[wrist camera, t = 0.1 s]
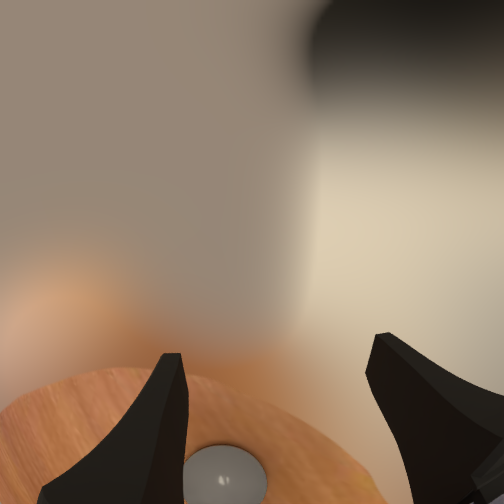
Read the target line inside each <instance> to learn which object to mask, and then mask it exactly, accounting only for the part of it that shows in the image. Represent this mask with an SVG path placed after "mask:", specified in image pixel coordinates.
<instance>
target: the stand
mask: <svg viewBox="0 0 504 504" xmlns="http://www.w3.org/2000/svg"><path fill="white" fill-rule="evenodd" d="M266 490H267V478H266V475H265V472H264V470H263V468H262V466H261V464H260V463H259V461H258V460H257V459H256V458H255V457H254V456H253V455H252V454H250V453H249V452H247V451H245V450H243V449H241V448H238V447H235V446H231V445H213V446H208V447H205V448H203V449H201V450H199V451H197V452H195V453H194V454H193V455H192V456H191V457H190V458H189V459H188V460H187V461H186V463H185V464H184V466H183V493H184V499H185V500H186V501H187V503H188V504H260V503H261V502H262V500H263V499H264V497H265V494H266Z"/></svg>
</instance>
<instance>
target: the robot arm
mask: <svg viewBox="0 0 504 504" xmlns="http://www.w3.org/2000/svg"><path fill="white" fill-rule="evenodd" d="M365 374H366V377H367V380H368V383H369V386H370V388H371V391H372V394H373V396H374V398H375V400H376V402H377V404H378V406H379V408H380V410H381V412H382V414H383V416H384V418H385V420H386V422H387V424H388V426H389V428H390V430H391V432H392V433H393V435H394V438H395V440H396V442H397V445H398V447H399V450H400V453H401V456H402V459H403V462H404V466H405V469H406V472H407V476H408V480H409V484H410V488H411V493H412V497H413V502H414V504H504V396H503V395H499V394H496V393H493V392H491V391H488V390H485V389H483V388H480V387H478V386H476V385H473V384H471V383H469V382H467V381H465V380H463V379H461V378H459V377H457V376H455V375H454V374H452V373H450V372H448V371H447V370H445V369H443V368H442V367H440V366H439V365H437V364H435V363H434V362H432V361H431V360H429V359H428V358H426V357H425V356H423V355H422V354H420V353H419V352H417V351H416V350H415V349H413V348H412V347H410V346H409V345H408V344H406V343H405V342H403V341H402V340H400V339H399V338H397V337H396V336H394V335H393V334H391V333H389V332H387V333H382V334H376V335H375V339H374V342H373V346H372V350H371V354H370V358H369V361H368V365H367V368H366V372H365ZM188 417H189V392H188V387H187V382H186V378H185V373H184V368H183V363H182V358H181V354H180V353H164V354H163V355H162V356H161V357H160V359H159V361H158V363H157V365H156V367H155V369H154V370H153V372H152V374H151V376H150V377H149V379H148V381H147V382H146V384H145V386H144V387H143V389H142V390H141V392H140V393H139V395H138V397H137V398H136V400H135V401H134V402H133V404H132V405H131V406H130V408H129V409H128V411H127V412H126V413H125V415H124V416H123V417H122V419H121V420H120V421H119V422H118V424H117V425H116V426H115V427H114V428H113V429H112V430H111V432H110V433H109V434H108V435H107V436H106V437H105V438H104V439H103V440H102V441H101V442H100V443H99V444H98V445H97V446H96V447H95V448H94V449H93V450H92V451H91V452H90V453H89V454H87V455H86V456H85V457H84V458H83V459H81V460H80V461H79V462H78V463H76V464H75V465H74V466H73V467H72V468H70V469H69V470H68V471H66V472H65V473H63V474H62V475H60V476H59V477H57V478H56V479H54V480H52V481H51V482H49V483H48V484H46V485H44V486H43V487H42V489H41V491H40V494H39V497H38V500H37V504H184V493H183V466H184V455H185V446H186V436H187V427H188Z"/></svg>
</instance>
